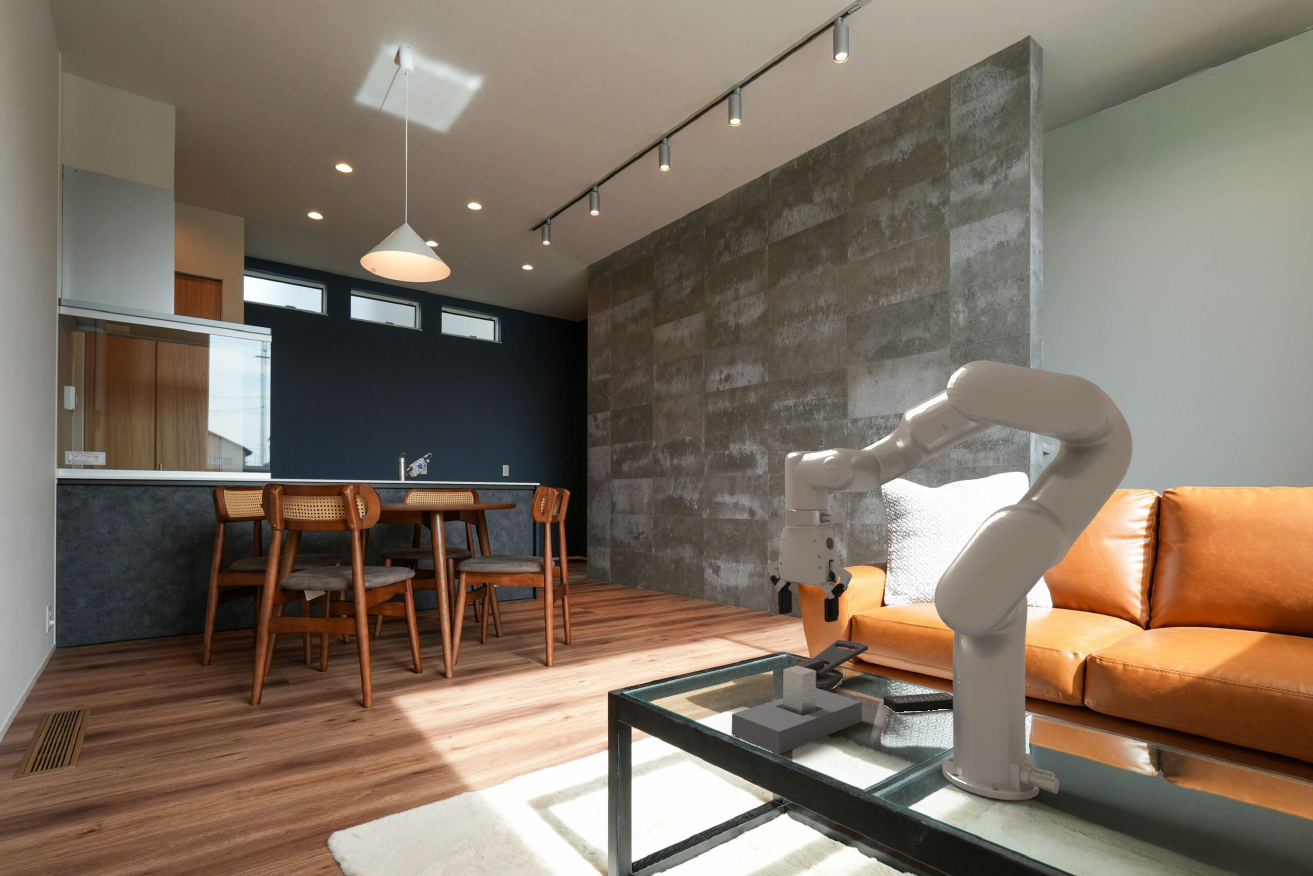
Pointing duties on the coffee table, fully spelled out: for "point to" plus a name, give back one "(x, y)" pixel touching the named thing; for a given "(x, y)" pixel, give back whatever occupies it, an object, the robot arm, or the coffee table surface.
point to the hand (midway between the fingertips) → (807, 617)
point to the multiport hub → (919, 702)
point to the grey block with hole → (795, 722)
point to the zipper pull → (832, 662)
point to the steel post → (799, 690)
